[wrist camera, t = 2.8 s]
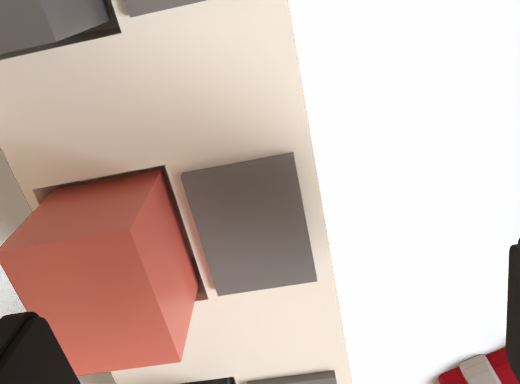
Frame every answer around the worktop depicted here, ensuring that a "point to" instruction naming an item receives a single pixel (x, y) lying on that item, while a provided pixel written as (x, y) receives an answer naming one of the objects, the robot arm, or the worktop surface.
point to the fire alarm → (482, 370)
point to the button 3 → (213, 381)
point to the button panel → (196, 171)
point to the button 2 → (107, 272)
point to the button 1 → (46, 21)
